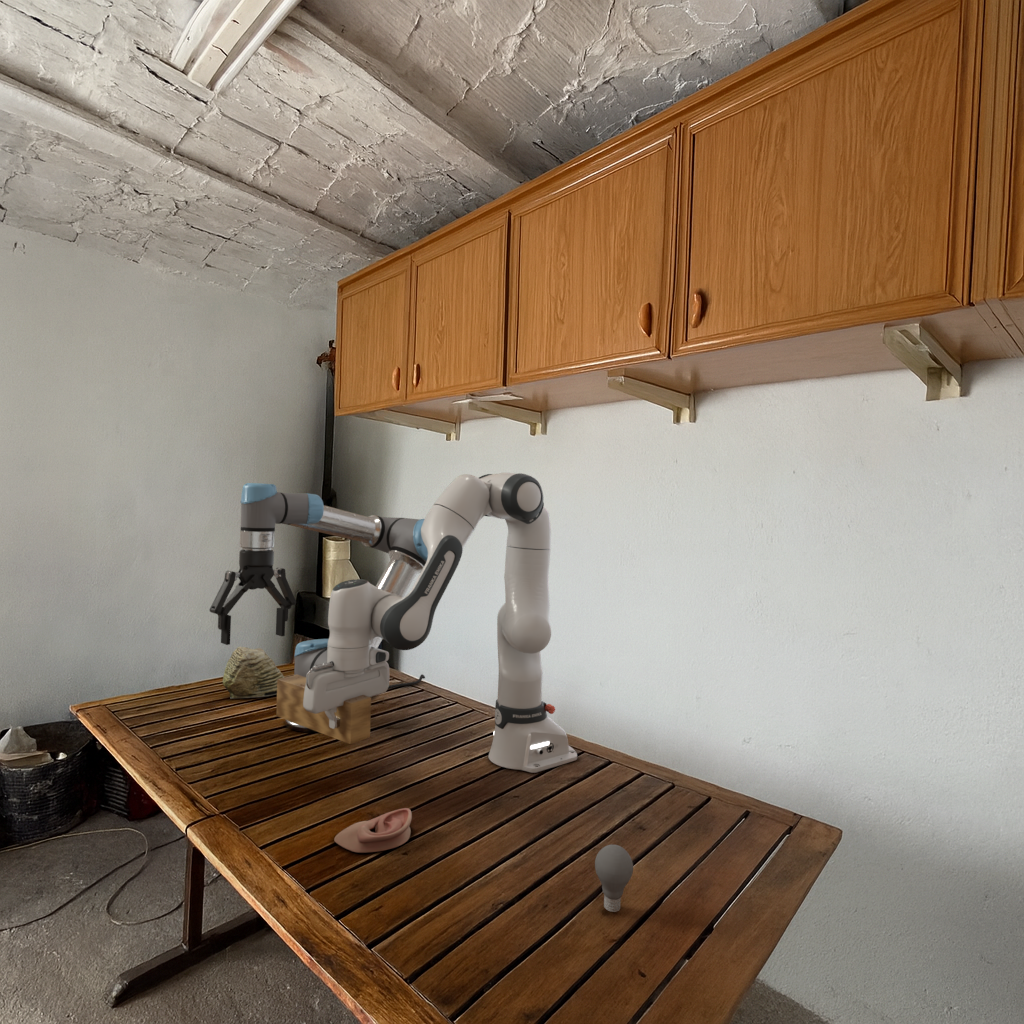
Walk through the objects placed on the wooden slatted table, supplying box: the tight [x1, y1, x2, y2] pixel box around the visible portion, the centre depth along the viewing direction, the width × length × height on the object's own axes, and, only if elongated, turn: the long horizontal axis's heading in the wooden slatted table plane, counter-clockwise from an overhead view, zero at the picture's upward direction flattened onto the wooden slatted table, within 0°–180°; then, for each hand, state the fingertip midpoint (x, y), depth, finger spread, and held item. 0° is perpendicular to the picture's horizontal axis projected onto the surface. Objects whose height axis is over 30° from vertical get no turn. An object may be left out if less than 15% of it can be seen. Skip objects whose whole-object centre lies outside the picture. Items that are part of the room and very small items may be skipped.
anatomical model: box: [333, 807, 413, 854], centre depth 119 cm, size 13×4×12 cm
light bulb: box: [594, 844, 634, 913], centre depth 100 cm, size 6×6×10 cm
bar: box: [275, 674, 372, 745], centre depth 138 cm, size 25×5×8 cm, turn 54°
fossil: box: [222, 646, 285, 699], centre depth 198 cm, size 9×18×15 cm, turn 132°
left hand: (253, 639), depth 148 cm, fingers open, 13 cm apart
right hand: (347, 723), depth 133 cm, fingers closed on bar, 5 cm apart
